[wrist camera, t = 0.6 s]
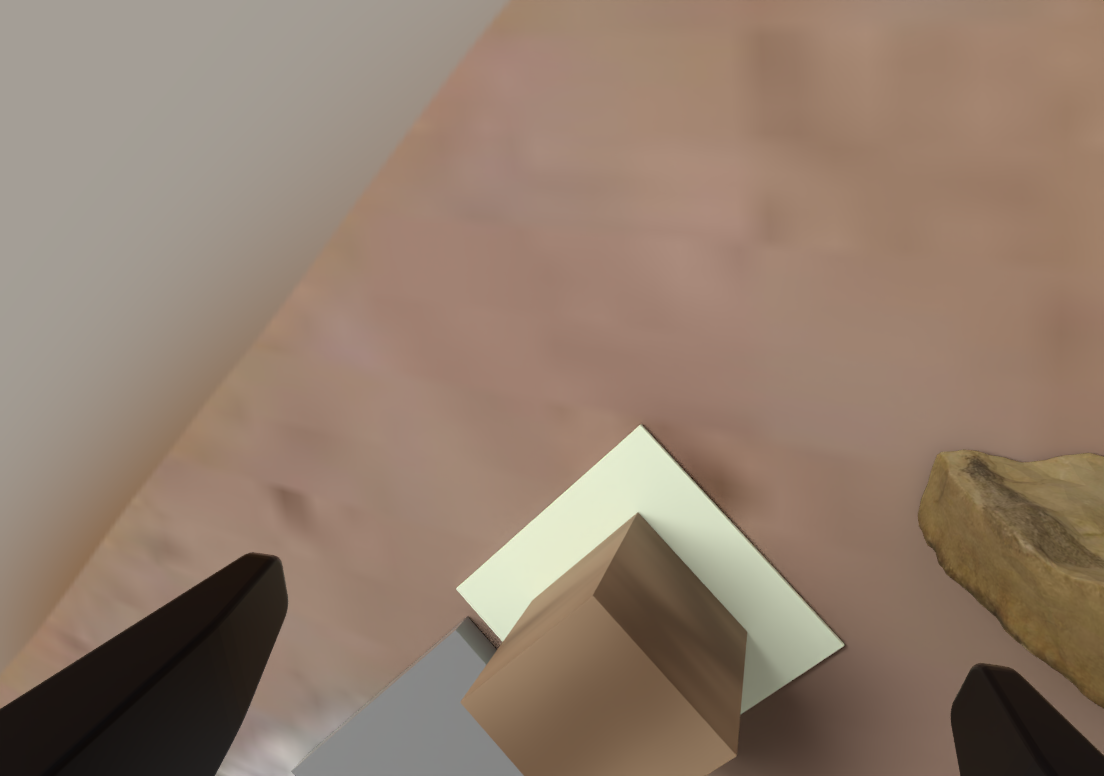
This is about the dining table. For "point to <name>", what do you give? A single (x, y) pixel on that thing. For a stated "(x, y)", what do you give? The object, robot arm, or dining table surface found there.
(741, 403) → the dining table surface
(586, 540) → the pale cream tile
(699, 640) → the block
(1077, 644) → the rock
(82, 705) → the robot arm
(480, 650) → the slate board
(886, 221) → the dining table surface
